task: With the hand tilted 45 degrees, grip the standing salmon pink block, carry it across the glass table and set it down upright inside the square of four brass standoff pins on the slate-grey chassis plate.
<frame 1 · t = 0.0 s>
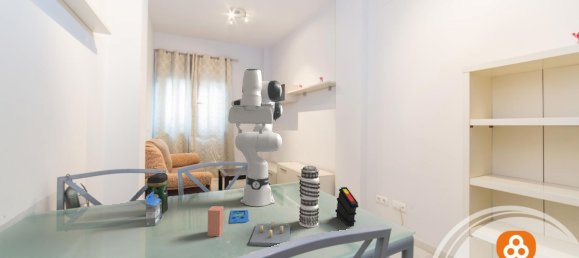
hand: (250, 133, 110), 39 cm above the table, tool pointing down, fingers open, 8 cm apart
salmon pink block: (215, 233, 95), on the table
label tape box: (154, 222, 105), on the table
black ribbed casing: (346, 222, 109), on the table
handheld gaming device: (239, 217, 113), on the table
decorative candle: (308, 223, 106), on the table
chassis plate: (271, 235, 94), on the table
coffee jar: (157, 212, 116), on the table
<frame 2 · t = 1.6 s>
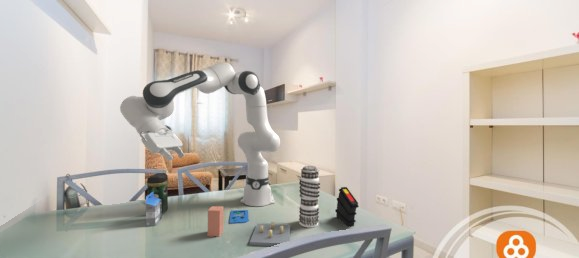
hand: (177, 158, 94), 29 cm above the table, tool tilted 45°, fingers open, 8 cm apart
nothing on the table moved.
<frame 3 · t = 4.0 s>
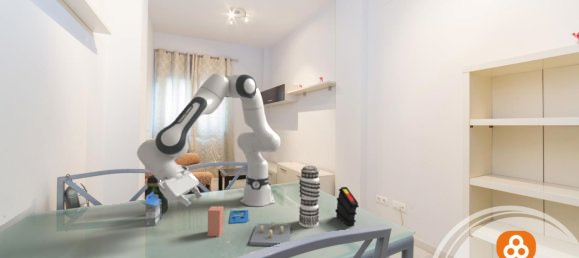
hand: (195, 200, 95), 13 cm above the table, tool tilted 45°, fingers open, 8 cm apart
nothing on the table moved.
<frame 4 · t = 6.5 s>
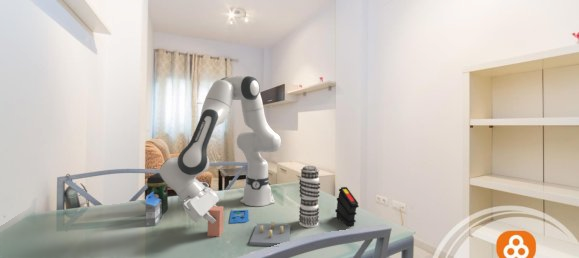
hand: (217, 218, 95), 6 cm above the table, tool tilted 45°, fingers closed on salmon pink block, 5 cm apart
salmon pink block: (215, 233, 95), on the table, touching gripper
everything else where it was.
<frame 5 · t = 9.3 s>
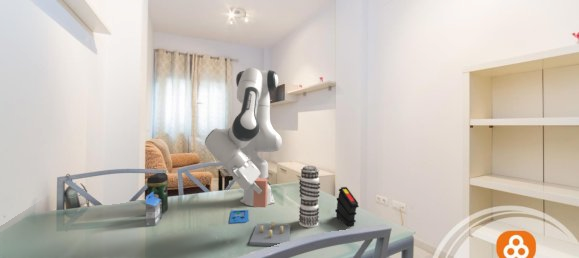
hand: (262, 190, 94), 18 cm above the table, tool tilted 45°, fingers closed on salmon pink block, 5 cm apart
salmon pink block: (260, 205, 94), point 12 cm above the table, touching gripper
everything else where it was.
when the fingers open (9 cm above the table, at t = 12.3 s): salmon pink block drops 1 cm, resting on chassis plate.
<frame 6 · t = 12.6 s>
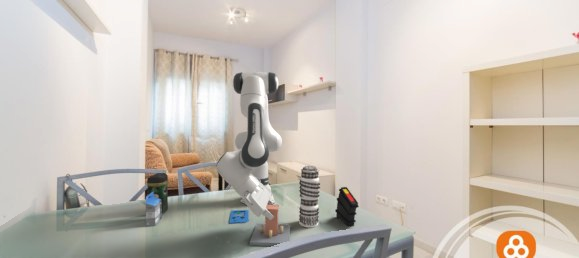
hand: (273, 213, 94), 9 cm above the table, tool tilted 45°, fingers open, 7 cm apart
salmon pink block: (271, 232, 94), point 1 cm above the table, touching chassis plate
everything else where it was.
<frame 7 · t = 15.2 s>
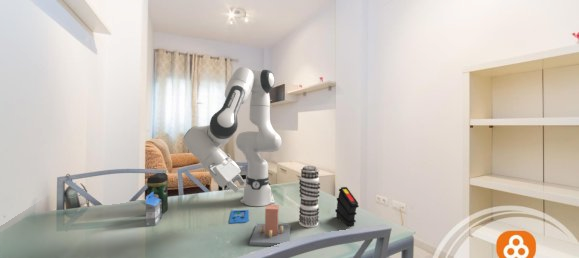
hand: (241, 187, 94), 18 cm above the table, tool tilted 45°, fingers open, 8 cm apart
nothing on the table moved.
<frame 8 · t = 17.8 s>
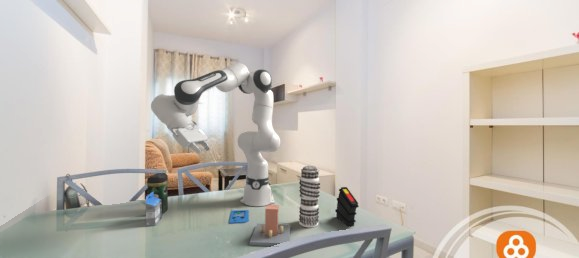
hand: (204, 151, 101), 31 cm above the table, tool tilted 45°, fingers open, 8 cm apart
nothing on the table moved.
at the end: salmon pink block 0.1 cm off-centre on the chassis plate, point 1.2 cm above the chassis plate's base; salmon pink block tilted 0°; the gripper is holding nothing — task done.
